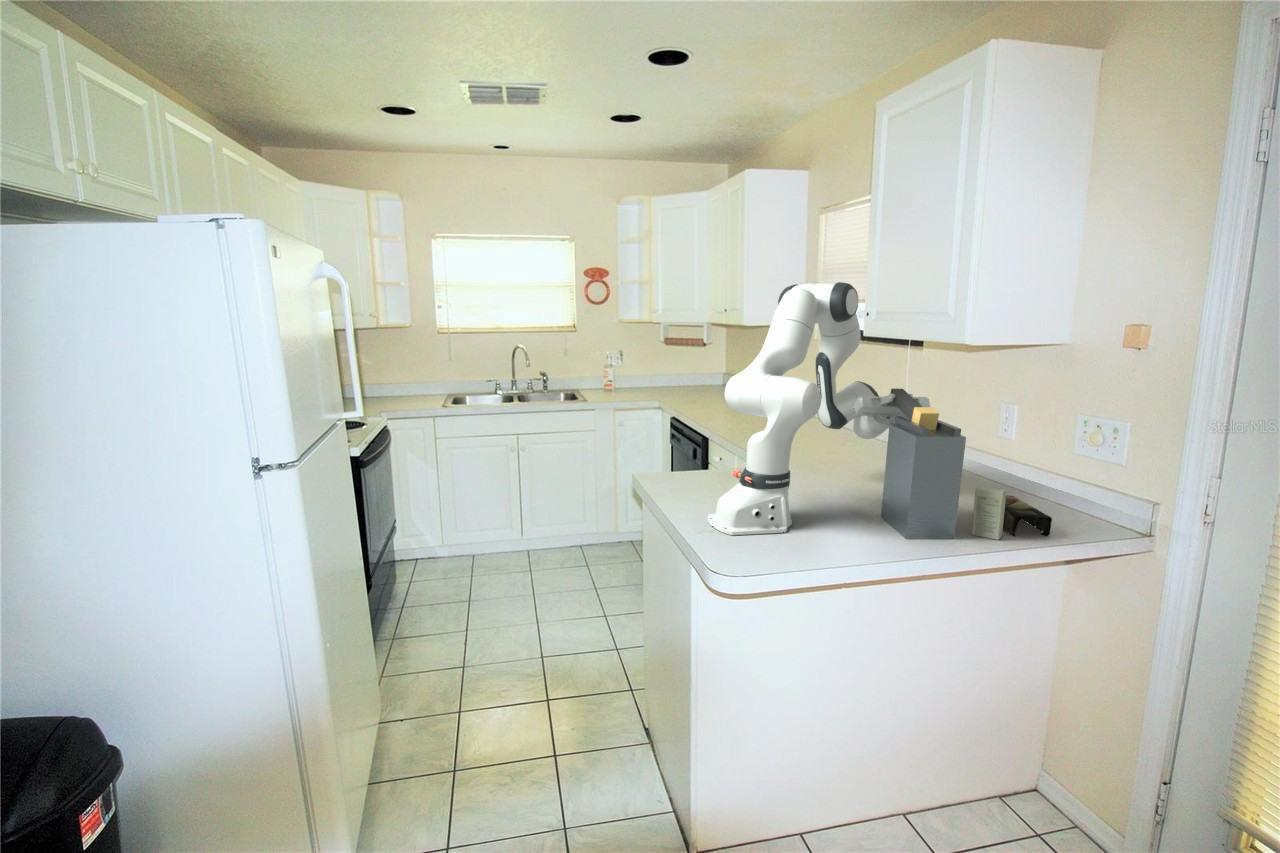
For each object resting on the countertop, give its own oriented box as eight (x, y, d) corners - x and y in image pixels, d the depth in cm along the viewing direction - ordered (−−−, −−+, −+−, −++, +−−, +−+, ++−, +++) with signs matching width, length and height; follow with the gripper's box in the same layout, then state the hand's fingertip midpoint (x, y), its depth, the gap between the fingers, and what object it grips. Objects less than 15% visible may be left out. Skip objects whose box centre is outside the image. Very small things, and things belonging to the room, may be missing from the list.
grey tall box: (880, 516, 167) (890, 416, 162) (924, 517, 167) (935, 416, 162) (905, 538, 152) (917, 428, 146) (954, 539, 152) (967, 428, 146)
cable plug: (886, 399, 173) (889, 383, 171) (903, 399, 173) (906, 384, 171) (917, 430, 154) (920, 413, 152) (935, 430, 154) (939, 413, 152)
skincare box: (1002, 536, 154) (1008, 489, 152) (998, 540, 151) (1004, 493, 149) (974, 529, 158) (979, 484, 156) (969, 534, 155) (975, 488, 153)
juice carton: (973, 510, 174) (976, 490, 172) (1009, 512, 173) (1012, 491, 172) (1010, 538, 154) (1014, 515, 153) (1051, 540, 153) (1055, 516, 152)
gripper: (847, 402, 183) (863, 385, 169) (915, 403, 183) (936, 385, 169) (849, 422, 181) (865, 406, 168) (918, 423, 181) (940, 407, 167)
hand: (902, 396), depth 168 cm, fingers closed on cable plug, 3 cm apart
